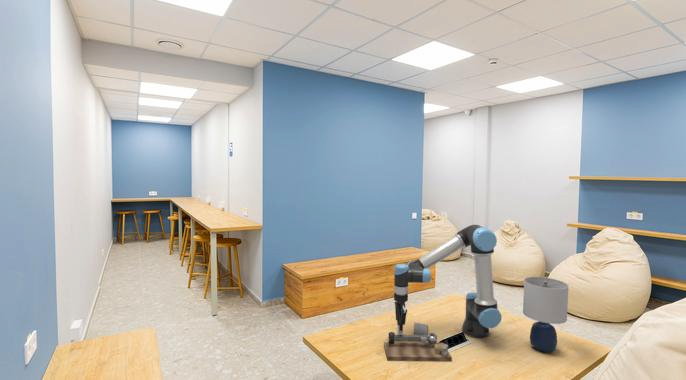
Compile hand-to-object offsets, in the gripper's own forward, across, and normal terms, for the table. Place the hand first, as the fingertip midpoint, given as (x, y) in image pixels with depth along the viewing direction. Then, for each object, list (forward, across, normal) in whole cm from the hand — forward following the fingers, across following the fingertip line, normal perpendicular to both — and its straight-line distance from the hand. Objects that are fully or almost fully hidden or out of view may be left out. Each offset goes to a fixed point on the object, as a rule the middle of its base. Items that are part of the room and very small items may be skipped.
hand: (400, 335), depth 193 cm
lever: (+1, +8, +4) cm, 9 cm away
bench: (+4, +12, +5) cm, 13 cm away
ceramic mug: (+5, -6, +15) cm, 17 cm away
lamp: (+5, +20, +73) cm, 76 cm away
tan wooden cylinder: (+2, +17, +14) cm, 22 cm away
